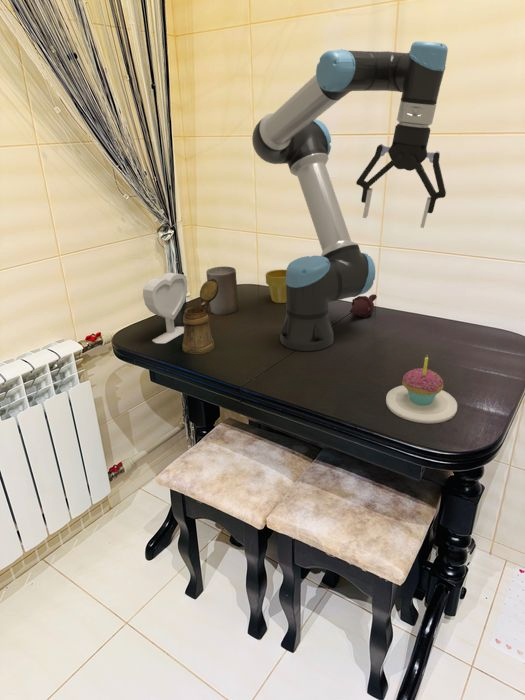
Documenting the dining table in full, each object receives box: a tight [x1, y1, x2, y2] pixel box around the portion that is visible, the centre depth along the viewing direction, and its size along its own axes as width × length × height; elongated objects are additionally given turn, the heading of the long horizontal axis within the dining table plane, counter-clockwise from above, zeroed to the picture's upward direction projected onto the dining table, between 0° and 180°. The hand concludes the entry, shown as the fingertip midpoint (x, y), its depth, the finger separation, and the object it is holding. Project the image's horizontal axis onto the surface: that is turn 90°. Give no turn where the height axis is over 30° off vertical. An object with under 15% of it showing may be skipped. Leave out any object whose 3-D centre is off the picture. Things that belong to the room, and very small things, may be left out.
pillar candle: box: [205, 266, 239, 316], centre depth 167 cm, size 10×10×15 cm
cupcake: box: [401, 354, 444, 406], centre depth 109 cm, size 9×8×12 cm
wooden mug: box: [181, 278, 219, 355], centre depth 140 cm, size 9×14×18 cm, turn 146°
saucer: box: [385, 384, 458, 425], centre depth 112 cm, size 15×15×1 cm
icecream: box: [349, 294, 377, 319], centre depth 160 cm, size 7×7×15 cm
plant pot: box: [265, 268, 287, 304], centre depth 175 cm, size 10×10×10 cm
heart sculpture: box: [142, 272, 188, 344], centre depth 148 cm, size 16×5×18 cm, turn 150°
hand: (393, 221), depth 121 cm, fingers open, 13 cm apart
